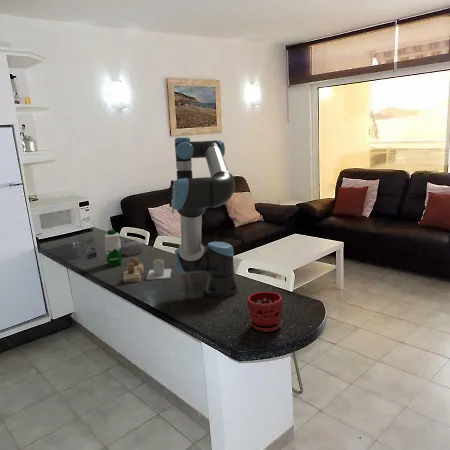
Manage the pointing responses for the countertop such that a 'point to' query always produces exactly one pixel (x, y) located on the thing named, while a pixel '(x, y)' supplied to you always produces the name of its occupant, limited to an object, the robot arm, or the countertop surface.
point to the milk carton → (113, 248)
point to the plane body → (133, 271)
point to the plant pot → (265, 311)
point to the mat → (165, 276)
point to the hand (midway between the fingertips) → (186, 212)
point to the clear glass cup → (158, 267)
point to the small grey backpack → (130, 247)
